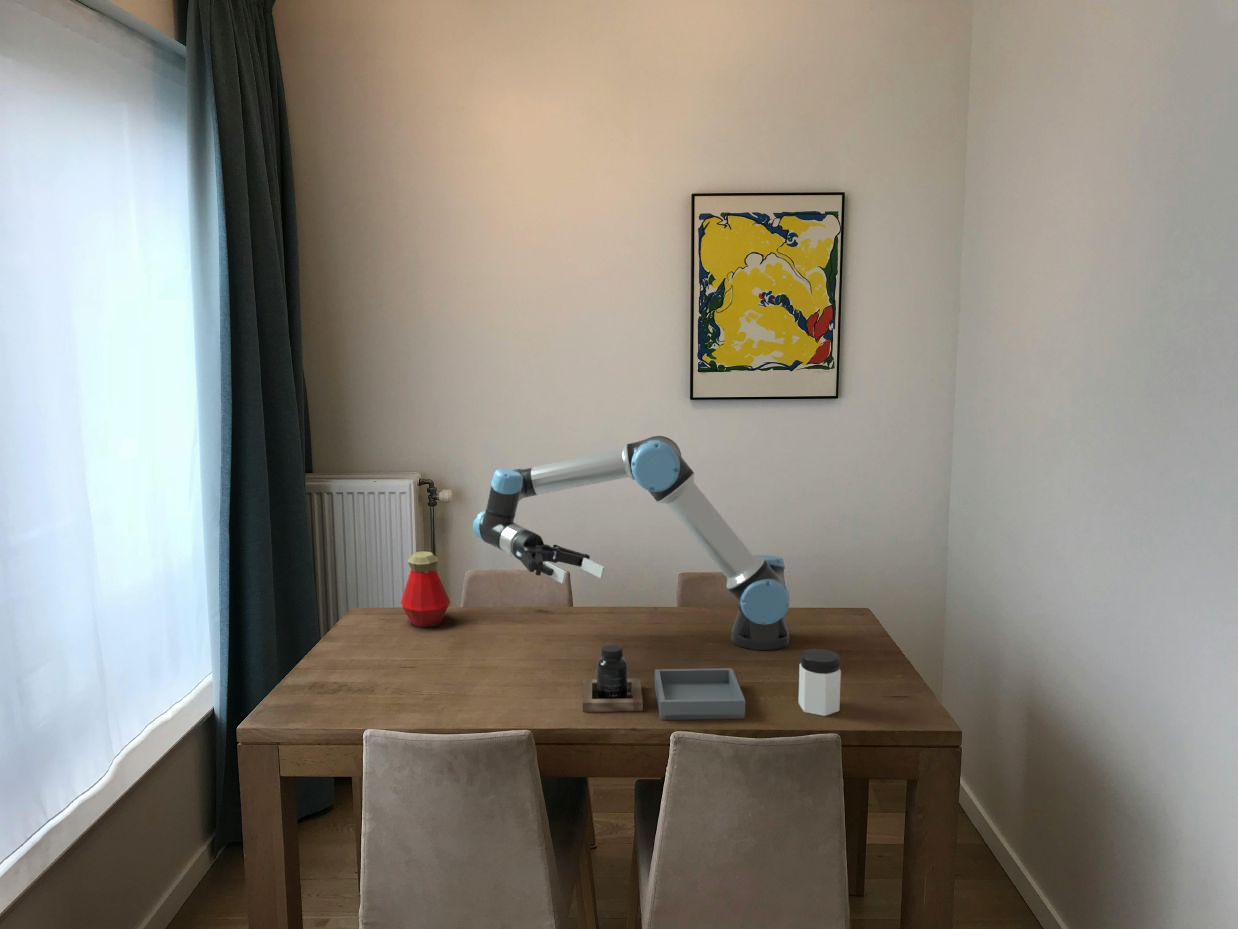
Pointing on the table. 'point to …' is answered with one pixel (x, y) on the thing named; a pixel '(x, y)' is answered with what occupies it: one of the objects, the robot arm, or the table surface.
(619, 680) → the supplement bottle
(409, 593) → the bottle
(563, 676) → the table surface
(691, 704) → the bin
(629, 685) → the socket collar
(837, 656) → the jar
